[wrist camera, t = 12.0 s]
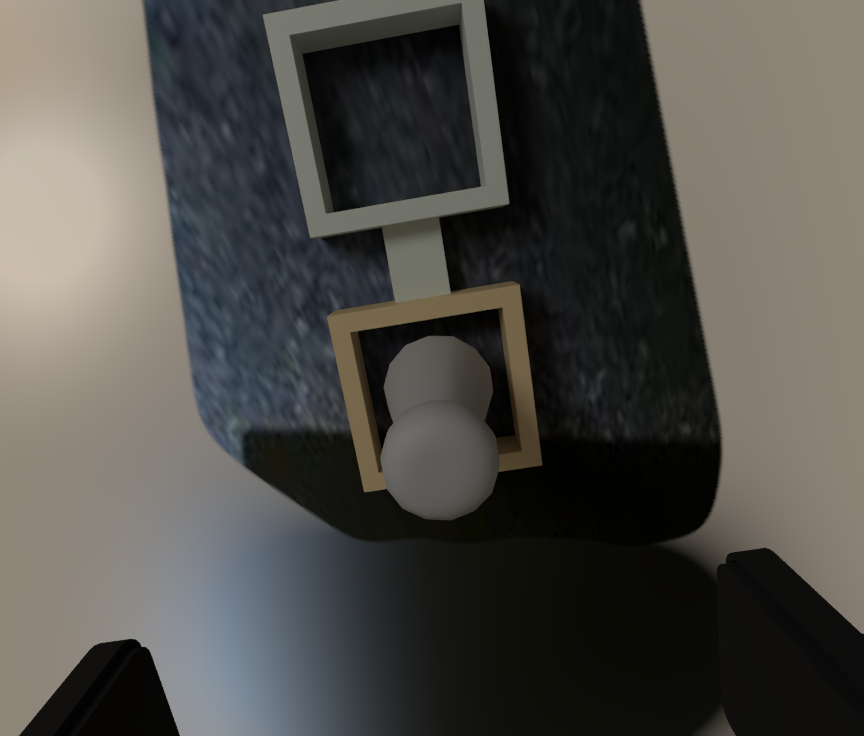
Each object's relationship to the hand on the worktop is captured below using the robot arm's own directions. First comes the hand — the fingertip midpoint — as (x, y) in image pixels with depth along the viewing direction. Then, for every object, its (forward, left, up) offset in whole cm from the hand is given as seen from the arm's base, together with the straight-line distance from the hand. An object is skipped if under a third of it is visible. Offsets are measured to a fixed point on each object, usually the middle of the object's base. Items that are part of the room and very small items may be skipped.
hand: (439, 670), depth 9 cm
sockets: (-6, 0, -23) cm, 23 cm away
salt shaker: (+1, 0, -23) cm, 23 cm away
